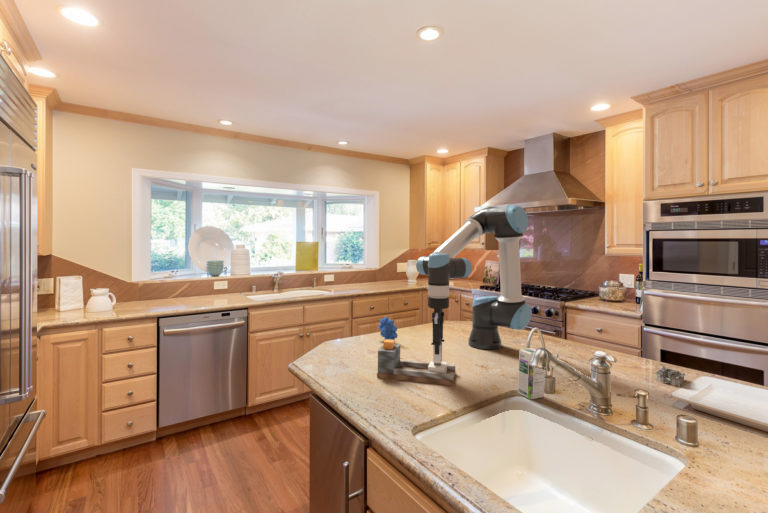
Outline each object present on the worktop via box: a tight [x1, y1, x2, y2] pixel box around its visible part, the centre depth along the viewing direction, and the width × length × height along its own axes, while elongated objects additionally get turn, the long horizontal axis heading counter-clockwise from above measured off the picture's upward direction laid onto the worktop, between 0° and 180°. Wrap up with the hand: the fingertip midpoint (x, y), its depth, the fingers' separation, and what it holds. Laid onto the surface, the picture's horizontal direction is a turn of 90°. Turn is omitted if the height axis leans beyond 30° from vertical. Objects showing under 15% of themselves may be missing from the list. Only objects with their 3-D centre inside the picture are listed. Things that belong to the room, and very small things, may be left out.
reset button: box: [382, 339, 396, 349], centre depth 141 cm, size 4×4×3 cm
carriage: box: [428, 339, 448, 373], centre depth 136 cm, size 6×7×12 cm
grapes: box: [378, 316, 398, 341], centre depth 183 cm, size 12×7×12 cm, turn 49°
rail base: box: [376, 343, 457, 386], centre depth 138 cm, size 27×12×10 cm, turn 74°
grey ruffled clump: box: [655, 366, 686, 387], centre depth 134 cm, size 10×7×4 cm
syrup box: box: [517, 347, 545, 400], centre depth 121 cm, size 6×6×14 cm
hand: (437, 361), depth 136 cm, fingers closed on carriage, 2 cm apart
